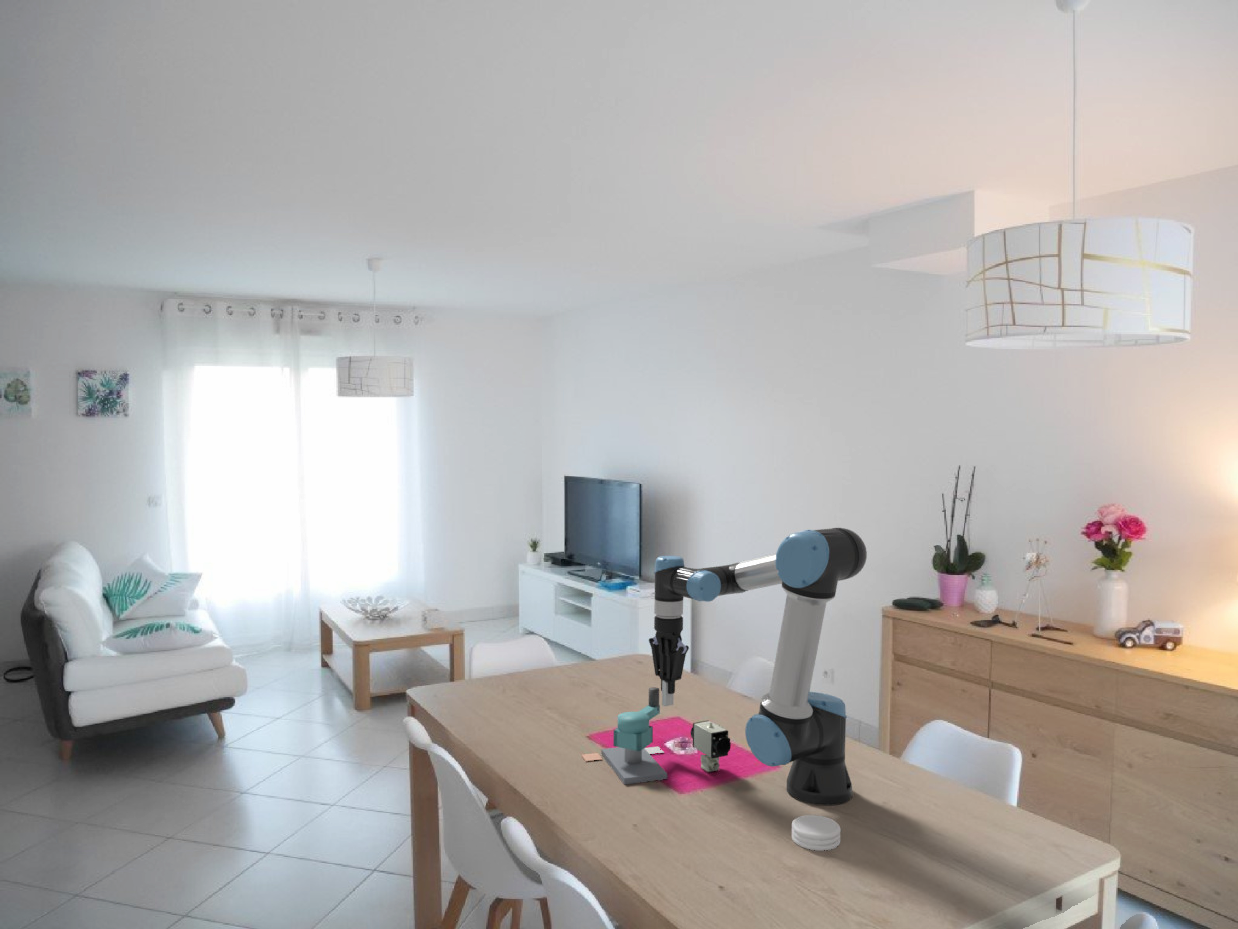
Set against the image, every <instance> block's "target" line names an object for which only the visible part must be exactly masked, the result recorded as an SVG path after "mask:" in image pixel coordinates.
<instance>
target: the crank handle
mask: <svg viewBox="0 0 1238 929" xmlns="http://www.w3.org/2000/svg"><path fill="white" fill-rule="evenodd" d="M660 713H661V706H660V688H659V687H649V688H648V705H646V706H645V707H643V708H642V709H640V710H639V711H626V712H624V711H623V712H621V713H620V714H618V715H617V728H615V729H613V747H614V748H617V747H620V748H625V749H630V750H635V751H641V750H642V749H644V748H648V746H650V745H651V744H652V743H653V741H654V738H653V737H654V736H653V734H654V729H653V728H654V727H653V726H651V725H650V720H652V719H653V718H654V717H655V718H656V716H658V715H659V714H660Z"/></svg>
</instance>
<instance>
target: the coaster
mask: <svg viewBox="0 0 1238 929" xmlns="http://www.w3.org/2000/svg"><path fill="white" fill-rule="evenodd" d="M841 831H842V829H841V827H840V824H838V822H837V821H835V820H833V819H832V818H829V817H827V816H824V815H819V814H806V815H805V814H804V815H800V816H797V817H795V818H794V819H793V820H792V823H791V839H792V841H793V843H795V845H798V846H799V847H801V848H803V849H806V850H809V849H810V850H809V851H814V850H815V852H826V850H828V851H832V850H836V848H838V847H839V846H840V845H841ZM837 846H838V847H837ZM831 849H832V850H831ZM824 850H825V851H824Z"/></svg>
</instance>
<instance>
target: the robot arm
mask: <svg viewBox="0 0 1238 929" xmlns="http://www.w3.org/2000/svg"><path fill="white" fill-rule="evenodd" d="M867 552H868V551H867V547H866V544H865V542H864V540H863V539H862V537H860V535H859V534H857V533H856V532H854V531H853V530H850V529H849V528H842V527H832V528H821V529H804V530H800V531H798V532H794V533H792V534H789V535H788V536H786V537H785V538H784V539H783V540H782V541H781V543H780V544H779V545H778V547H777V550H776V553H772V554H769V555H765V556H760V557H757V558H756V557H755V558H751V559H748V560H743V561H740V562H736V563H735V562H734V563H732V564H726V565H719V566H712V567H711V566H709V567H704V568H703V567H702V568H691V567H686V566H685V562H684V561H685V560H684V558H683V557H681V556H677V555H659V556H658V557H657V558H656V559H655V562H654V563H655V564H654V573H653V574H654V610H653V613H654V615H655V616H654V618H653V619H654V620H653V621H654V622H653V624H654V627H653V629H654V631H655V636H654V637H650V638H649V639H648V643H649V645H650V649H651V654H652V655H651V656H652V662H653V668H654V669H653V670H654V675H655V676H656V677H657V676H658V677H659V679H660V691H661V706H663V707H669V706H672V705H673V706H674V694H675V692H676V681H679V680H681V679H682V677H683V671H684V666H685V665H684V664H685V662H686V657H687V655H686V654H687V653H688V651H689V650H690V648H689V646H688V645H685V644H684V643H683V642H682V641H683V638H682V635H681V634H682V631H683V630H684V617H683V614H684V598H688V599H691V600H695V601H697V602H706V603H707V602H708V603H709V602H713V601H714V600H715V599H716V598H717V597H719V596H725V595H726V596H727V595H734V594H742V593H746V592H749V591H752V590H756V589H762V588H763V589H764V588H766V587H771V586H777V585H781V588H782V590H783V591H784V592H785V593H786V599H785V604H784V610H783V616H782V622H781V626H780V633H779V638H778V643H777V649H776V654H775V660H774V663H773V664H774V667H773V671H772V676H771V681H770V687H769V692H767V693H766V694H764V695H763V696H762V697H761V699H760V704H759V709H758V713H756V714H754V715H752V716H751V717H749V719H748V720H747V722H746V724H745V729H744V730H745V740H746V743H747V746H748V747H749V748H750V751H751V753H752V754H753V756H754V757H755V758H756V759H757V760H758V761H759V762H760V763H762V764H764V765H765V766H768V767H779V766H785V765H788V764H790V763H791V762H792V763H791V766H790V769H789V772H788V775H787V778H786V792H787V793H788V794H789V796H791V797H793V798H794V799H796V800H799V801H800V802H804V803H808V804H811V805H819V806H837V805H841V804H845V803H847V802H849V801H850V800H851V799H852V798H853V784H852V780H851V777H850V774H849V771H848V768H847V765H846V732H847V731H846V727H847V726H846V725H847V724H846V723H847V721H846V720H847V715H846V714H847V713H846V711H847V710H846V704H845V702H844V700H842V699H841V698H839V697H837V696H835V695H831V694H828V693H823V692H816V691H815V692H814V691H811V685H812V680H813V676H814V670H815V665H816V659H817V654H818V651H819V650H818V649H819V645H820V644H819V643H820V638H821V633H822V627H823V623H824V618H825V612H826V607H827V603H828V602H830V601H831V600H833V599H834V598H836V592H837V588H838V583H839V581H845V580H848V579H851V578H853V577H856V576H857V575H858V574H859V573H861V571H862V569H863V568H864V566H865V564H866V563H867V562H866V561H867V557H868V555H867V554H868V553H867Z"/></svg>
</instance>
